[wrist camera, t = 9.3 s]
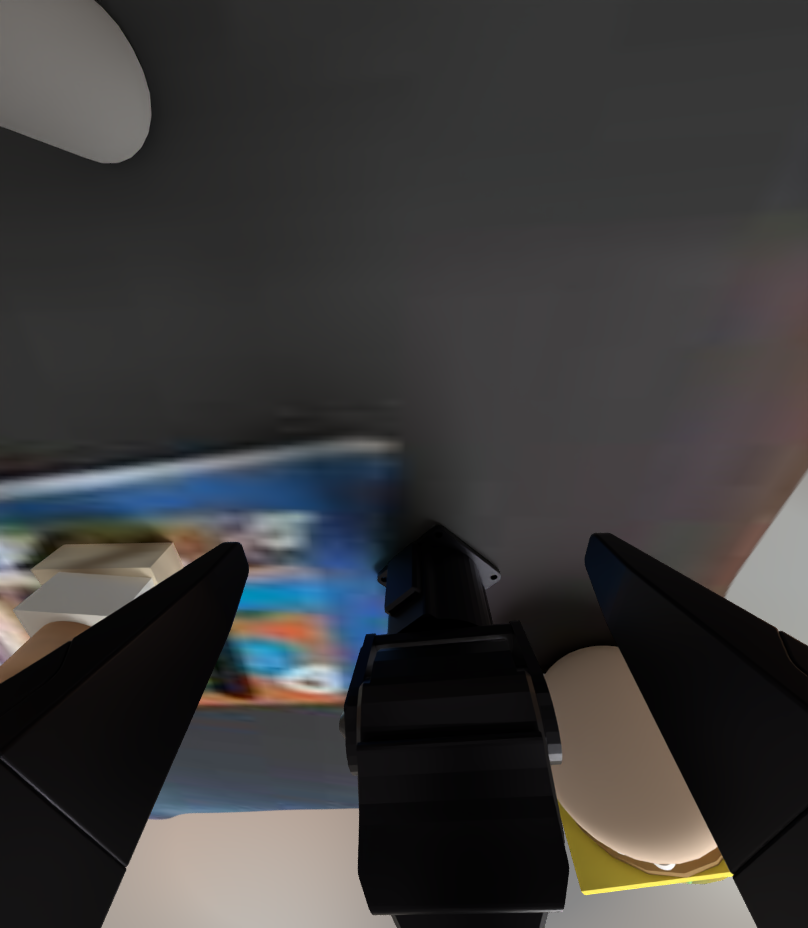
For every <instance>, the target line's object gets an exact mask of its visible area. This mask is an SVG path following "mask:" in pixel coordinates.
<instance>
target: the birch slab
mask: <svg viewBox="0 0 808 928" xmlns="http://www.w3.org/2000/svg"><path fill="white" fill-rule="evenodd" d="M182 568H184V566H183V564H182V562H181V559H180V557H179V555H178V552H177V550H176V548H175V546H174V543H119V544H64V545H62V546H61V547H60V548H58V549H57V550H56V551H54V552H53V553H52V554H51V555H49V556H48V557H47V558H45V559H44V560H43V561H41V562H40V563H39V564H37V565H36V566H35V567H33V568H32V569H31V571H32V573H33V574H34V575H35V577H36V578H37V580H38V581H39V582H40V584H41V585H44V584H45V583H46V582H47V581H48V580H50V579H51V578H52V577H53V576H54V575H56V574H57V573H58V572H70V573H85V574H101V575H116V576H131V577H146V578H152V580H153V582H154V585H155V586H156V585H157V584H159V583H160V582H162V581H163V580H165V579H167V578H168V577H170V576H171V575H173V574H174V573H176V572H178V571H179V570H181V569H182Z"/></svg>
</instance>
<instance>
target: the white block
mask: <svg viewBox="0 0 808 928" xmlns="http://www.w3.org/2000/svg"><path fill="white" fill-rule="evenodd" d="M154 586H155V585H154V582H153V580H152V578H146V577H131V576H116V575H101V574H85V573H70V572H58V573H57V574H56V575H54V576H53V577H52V578H51V579H50V580H48V581H47V582H46V583H45V584H44V585H42V586H41V587H40V588H39V589H37V590H36V591H35V592H34V593H33V594H31V595H30V596H29V597H28V598H27V599H25V600H24V601H23V602H22V603H21V604H19V605H18V606H17V607H16V608H15V609H13V611H14V613H15V614H16V616H17V618H18V619H19V621H20V622H21V624H22V625H23V627H24V628H25V630H26V632H27V633H28V635H29V636H30V638H31V637H32V636H33V635H34V634H35V633H36V632H37V631H38V630H40V629H41V628H42V627H43V626H44V625H46V624H48V623H51V622H56V621H70V622H77V623H81V624H85V625H88V626H93V625H94V624H96V623H98V622H99V621H101V620H102V619H104V618H105V617H107V616H109V615H110V614H112V613H113V612H115V611H116V610H118V609H120V608H121V607H123V606H124V605H126V604H127V603H129V602H130V601H132V600H134V599H135V598H137V597H138V596H140V595H141V594H143V593H145V592H146V591H148V590H149V589H151V588H152V587H154Z"/></svg>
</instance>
